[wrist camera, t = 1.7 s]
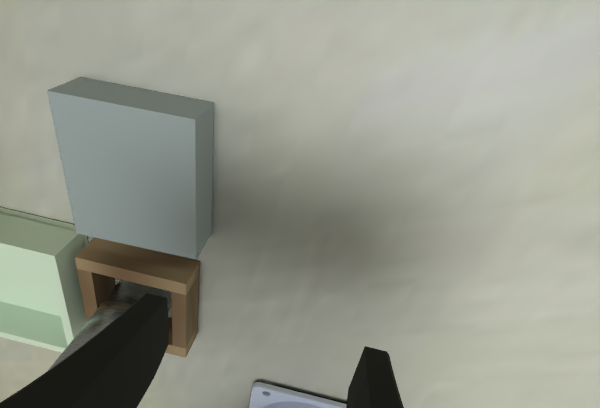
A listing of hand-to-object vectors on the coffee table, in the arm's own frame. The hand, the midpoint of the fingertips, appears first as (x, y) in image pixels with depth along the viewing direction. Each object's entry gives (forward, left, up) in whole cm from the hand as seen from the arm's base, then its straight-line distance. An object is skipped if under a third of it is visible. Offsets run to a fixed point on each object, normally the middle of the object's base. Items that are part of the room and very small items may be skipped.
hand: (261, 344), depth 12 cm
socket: (+8, +9, -8) cm, 14 cm away
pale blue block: (+8, 0, -9) cm, 12 cm away
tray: (+16, +9, -8) cm, 20 cm away
